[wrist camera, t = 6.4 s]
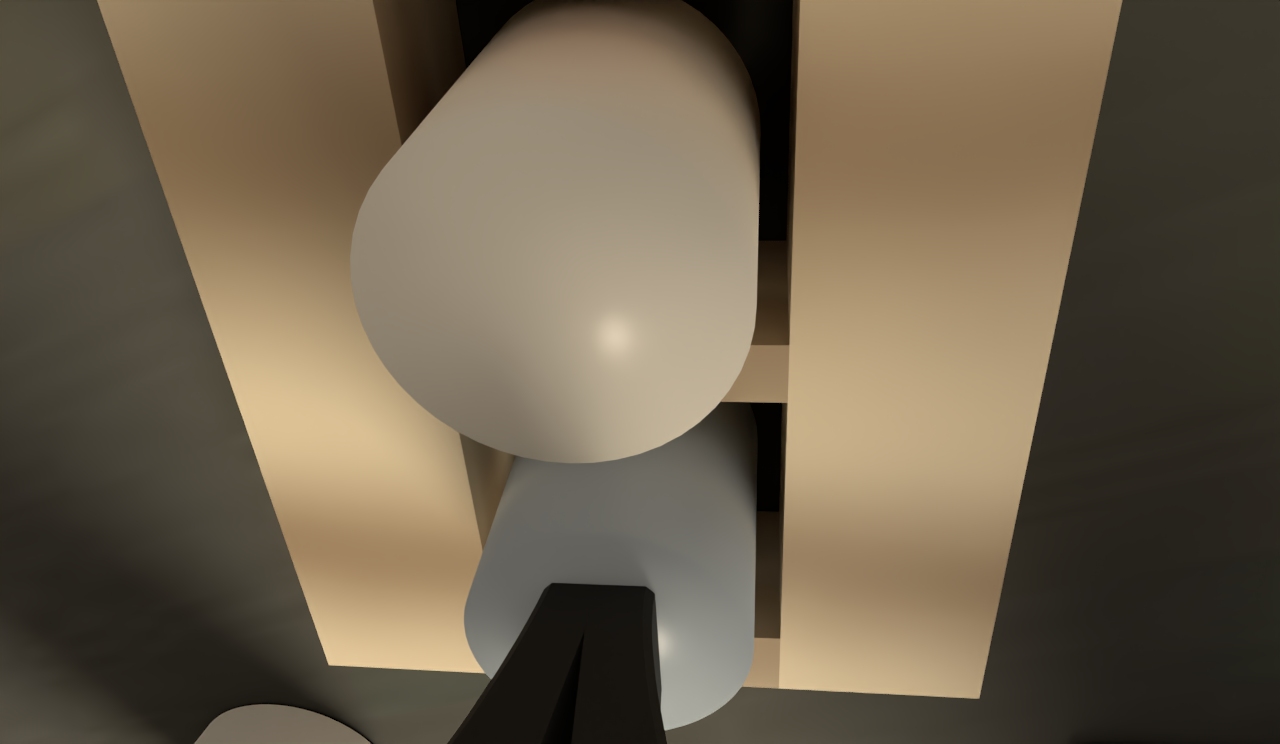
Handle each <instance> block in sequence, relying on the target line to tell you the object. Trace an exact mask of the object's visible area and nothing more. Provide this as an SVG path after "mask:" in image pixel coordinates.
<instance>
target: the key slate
mask: <svg viewBox="0 0 1280 744" xmlns="http://www.w3.org/2000/svg"><path fill="white" fill-rule="evenodd" d="M757 447H758V436H757V425H756V420H755V416H754V413H753V410H752V408H751V406H750V403H749V402H720V403H719V404H718V405H717V406H716V407H715V408H714V409H713V410H712V411H711V412H710V413H709V414H708V415H707V416H706V417H705V418H704V419H702V420H701V421H700V422H699V423H698V424H696V425H695V426H694V427H692V428H691V429H689V430H688V431H686V432H685V433H684V434H682V435H681V436H679V437H677V438H675V439H673V440H671V441H669V442H667V443H666V444H664V445H662V446H659V447H657V448H654V449H651V450H649V451H646V452H644V453H641V454H638V455H634V456H630V457H626V458H622V459H618V460H611V461H603V462H596V463H558V462H546V461H541V460H535V459H529V458H524V457H520V456H517V455H516V456H515V459H514V462H513V465H512V468H511V471H510V474H509V476H508V479H507V482H506V485H505V488H504V491H503V494H502V497H501V500H500V503H499V506H498V509H497V512H496V515H495V518H494V521H493V523H492V526H491V529H490V532H489V535H488V538H487V541H486V544H485V547H484V550H483V553H482V556H481V559H480V562H479V565H478V568H477V571H476V573H475V576H474V579H473V582H472V585H471V588H470V591H469V594H468V597H467V601H466V605H465V609H464V628H465V635H466V638H467V641H468V644H469V647H470V649H471V651H472V653H473V655H474V657H475V659H476V661H477V662H478V664H479V665H480V667H481V668H482V669H483V671H484V672H485V673H486V674H487V676H488V677H489V678H490V679H491V680H492V678H493V677H494V675H495V674H496V672H497V670H498V669H499V667H500V666H501V664H502V662H503V661H504V659H505V657H506V656H507V654H508V653H509V651H510V649H511V648H512V646H513V644H514V643H515V641H516V639H517V638H518V636H519V634H520V633H521V631H522V629H523V627H524V626H525V624H526V622H527V620H528V619H529V617H530V615H531V613H532V611H533V609H534V608H535V606H536V604H537V602H538V600H539V598H540V596H541V594H542V592H543V590H544V589H545V588H546V587H547V586H548V585H550V584H551V583H572V584H597V585H624V586H646V587H648V588H649V589H650V590H651V591H653V592H654V593H655V600H656V614H657V629H658V643H659V658H660V672H661V686H662V692H661V714H662V720H663V725H664V730H669V729H673V728H677V727H680V726H684V725H687V724H690V723H692V722H695V721H698V720H700V719H702V718H704V717H706V716H708V715H710V714H712V713H713V712H715V711H716V710H718V709H719V708H720V707H722V706H723V705H725V704H726V703H727V702H728V701H729V700H730V699H731V698H732V697H733V696H734V695H735V694H736V693H737V692H738V690H739V689H740V688H741V687H742V685H743V683H744V682H745V680H746V678H747V676H748V674H749V671H750V668H751V665H752V662H753V653H754V620H755V563H756V505H757Z"/></svg>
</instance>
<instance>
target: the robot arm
mask: <svg viewBox="0 0 1280 744" xmlns="http://www.w3.org/2000/svg"><path fill="white" fill-rule="evenodd" d="M661 692H662V686H661V672H660V658H659V643H658V629H657V614H656V600H655V593H654V592H653V591H651V590H650V589H649V588H648V587H646V586H624V585H597V584H572V583H551V584H550V585H548V586H547V587H546V588H545V589H544V590H543V592H542V594H541V596H540V598H539V600H538V602H537V604H536V606H535V608H534V609H533V611H532V613H531V615H530V617H529V619H528V620H527V622H526V624H525V626H524V627H523V629H522V631H521V633H520V634H519V636H518V638H517V639H516V641H515V643H514V644H513V646H512V648H511V649H510V651H509V653H508V654H507V656H506V657H505V659H504V661H503V662H502V664H501V666H500V667H499V669H498V670H497V672H496V674H495V675H494V677H493V678H492V680H491V681H490V683H489V684H488V686H487V687H486V689H485V690H484V692H483V693H482V695H481V696H480V698H479V699H478V701H477V702H476V704H475V705H474V707H473V708H472V710H471V711H470V713H469V714H468V716H467V717H466V719H465V720H464V721H463V723H462V724H461V726H460V727H459V729H458V730H457V731H456V733H455V734H454V735H453V737H452V738H451V739H450V741H449V742H448V743H447V744H667V741H666V736H665V731H664V725H663V720H662V714H661Z"/></svg>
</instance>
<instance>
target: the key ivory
mask: <svg viewBox="0 0 1280 744" xmlns="http://www.w3.org/2000/svg"><path fill="white" fill-rule="evenodd" d="M760 140H761V129H760V113H759V108H758V102H757V97H756V93H755V90H754V87H753V84H752V81H751V78H750V75H749V73H748V71H747V69H746V67H745V65H744V63H743V61H742V59H741V57H740V56H739V54H738V53H737V51H736V50H735V48H734V47H733V46H732V44H731V43H730V41H729V40H728V39H727V38H726V36H725V35H724V34H723V33H722V32H721V31H720V30H719V29H718V28H717V26H716V25H715V24H713V23H712V22H711V21H710V20H709V19H708V18H706V17H705V16H704V15H703V14H702V13H701V12H699V11H698V10H696V9H695V8H693V7H692V6H690V5H689V4H687V3H686V2H684V1H682V0H534V1H532V2H531V3H529V4H527V5H526V6H524V7H523V8H522V9H521V10H520V11H518V12H517V13H516V14H515V15H513V16H512V17H511V18H510V19H509V20H508V21H507V22H506V23H505V24H504V25H503V27H502V28H501V29H500V30H499V31H498V32H497V33H496V34H495V36H494V37H493V38H492V39H491V40H490V42H489V43H488V44H487V45H486V46H485V47H484V49H483V50H482V51H481V52H480V53H479V55H478V56H477V57H476V58H475V59H474V61H473V62H472V63H471V64H470V65H469V67H468V68H467V69H466V70H465V71H464V73H463V74H462V75H461V76H460V77H459V78H458V80H457V81H456V82H455V83H454V84H453V86H452V87H451V88H450V89H449V90H448V92H447V93H446V94H445V95H444V96H443V98H442V99H441V100H440V101H439V102H438V103H437V105H436V106H435V107H434V108H433V109H432V111H431V112H430V113H429V114H428V115H427V117H426V118H425V119H424V120H423V121H422V123H421V124H420V125H419V126H418V127H417V129H416V130H415V131H414V132H413V133H412V134H411V136H410V137H409V138H408V139H407V140H406V142H405V143H404V144H403V145H402V146H401V148H400V149H399V150H398V151H397V152H396V154H395V155H394V156H393V157H392V158H391V159H390V161H389V162H388V163H387V164H386V165H385V167H384V168H383V169H382V171H381V172H380V174H379V175H378V176H377V178H376V179H375V181H374V182H373V184H372V185H371V187H370V188H369V190H368V192H367V195H366V197H365V199H364V201H363V203H362V206H361V208H360V210H359V213H358V216H357V220H356V224H355V227H354V231H353V236H352V244H351V253H350V270H351V284H352V289H353V295H354V301H355V305H356V308H357V311H358V314H359V317H360V320H361V323H362V326H363V328H364V330H365V333H366V335H367V337H368V339H369V341H370V343H371V345H372V347H373V349H374V350H375V352H376V354H377V355H378V357H379V358H380V360H381V362H382V363H383V365H384V366H385V368H386V369H387V370H388V371H389V373H390V374H391V375H392V376H393V378H394V379H395V380H396V381H397V383H398V384H399V385H400V386H401V387H402V388H403V389H404V390H405V391H406V392H407V393H408V394H409V395H410V396H411V397H412V398H413V399H414V400H415V401H416V402H417V403H418V404H419V405H421V406H422V407H423V408H424V409H426V410H427V411H428V412H429V413H431V414H432V415H433V416H434V417H435V418H437V419H438V420H440V421H442V422H443V423H445V424H446V425H448V426H449V427H451V428H452V429H454V430H455V431H457V432H459V433H461V434H463V435H465V436H467V437H469V438H471V439H473V440H475V441H477V442H479V443H482V444H484V445H487V446H489V447H492V448H494V449H497V450H499V451H502V452H506V453H510V454H513V455H517V456H520V457H524V458H529V459H535V460H541V461H546V462H558V463H596V462H603V461H611V460H618V459H622V458H626V457H630V456H634V455H638V454H641V453H644V452H646V451H649V450H651V449H654V448H657V447H659V446H662V445H664V444H666V443H667V442H669V441H671V440H673V439H675V438H677V437H679V436H681V435H682V434H684V433H685V432H686V431H688V430H689V429H691V428H692V427H694V426H695V425H696V424H698V423H699V422H700V421H701V420H702V419H704V418H705V417H706V416H707V415H708V414H709V413H710V412H711V411H712V410H713V409H714V408H715V407H716V406H717V405H718V404H719V403H720V401H721V400H722V399H723V398H724V396H725V395H726V394H727V393H728V392H729V390H730V389H731V387H732V385H733V384H734V382H735V380H736V379H737V377H738V375H739V374H740V372H741V370H742V367H743V365H744V362H745V360H746V357H747V355H748V353H749V350H750V346H751V342H752V338H753V333H754V329H755V319H756V308H757V271H758V227H759V184H760Z"/></svg>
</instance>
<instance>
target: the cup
mask: <svg viewBox="0 0 1280 744" xmlns="http://www.w3.org/2000/svg"><path fill="white" fill-rule="evenodd" d="M194 744H371V743H370V742H369V741H368V740H366V739H365V738H364V737H362V736H361V735H360V734H358V733H357V732H355V731H354V730H352V729H351V728H349V727H347V726H345V725H344V724H342V723H340V722H338V721H335V720H333V719H331V718H329V717H326V716H324V715H321V714H318V713H315V712H312V711H308V710H305V709H301V708H296V707H291V706H284V705H272V704H258V705H248V706H242V707H238V708H235V709H232V710H229V711H227V712H225V713H223V714H221V715H219V716H218V717H217V718H215V719H214V720H213V721H212V722H211V723H210V724H209V725H208V727H207V728H206V729H205V730H204V732H203V733H202V734H201V736H200V737H199V738H198V739H197V741H196V742H195V743H194Z"/></svg>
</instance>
